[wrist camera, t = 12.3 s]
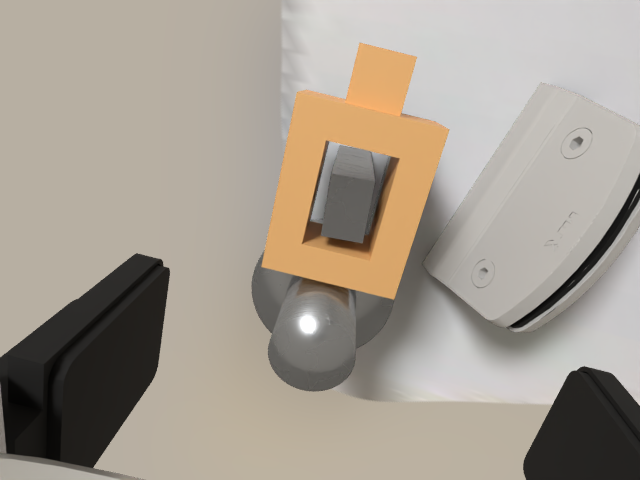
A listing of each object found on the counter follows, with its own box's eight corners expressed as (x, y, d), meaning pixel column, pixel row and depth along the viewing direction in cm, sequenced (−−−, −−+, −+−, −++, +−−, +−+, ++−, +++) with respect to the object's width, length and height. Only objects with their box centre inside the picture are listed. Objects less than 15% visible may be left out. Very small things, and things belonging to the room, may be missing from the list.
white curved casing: (544, 76, 32) (669, 107, 23) (586, 105, 34) (716, 144, 25) (419, 267, 38) (483, 349, 29) (461, 283, 39) (533, 364, 31)
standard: (370, 324, 40) (375, 445, 27) (259, 296, 40) (209, 404, 27) (432, 123, 34) (479, 153, 20) (301, 91, 34) (264, 100, 20)
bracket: (389, 269, 31) (394, 299, 27) (274, 241, 31) (261, 266, 27) (451, 69, 26) (469, 68, 22) (317, 36, 26) (309, 28, 22)
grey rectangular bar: (339, 145, 35) (331, 173, 24) (370, 150, 35) (375, 181, 24) (331, 190, 36) (320, 235, 26) (361, 195, 36) (362, 243, 26)
